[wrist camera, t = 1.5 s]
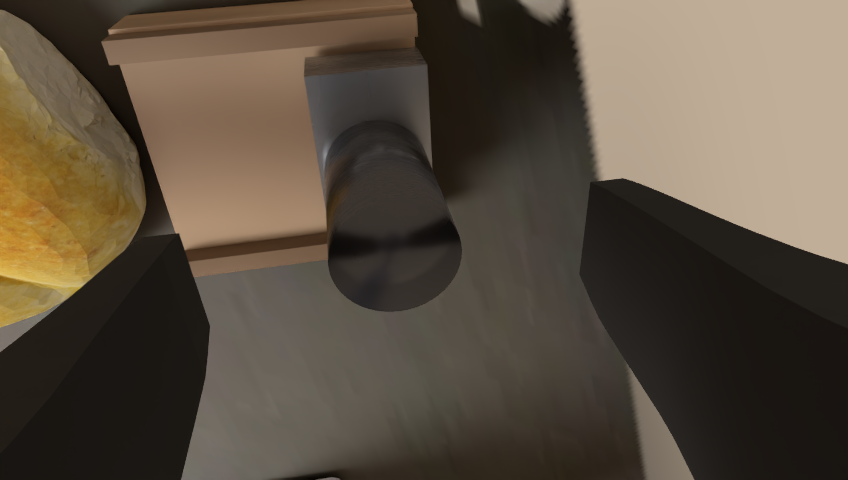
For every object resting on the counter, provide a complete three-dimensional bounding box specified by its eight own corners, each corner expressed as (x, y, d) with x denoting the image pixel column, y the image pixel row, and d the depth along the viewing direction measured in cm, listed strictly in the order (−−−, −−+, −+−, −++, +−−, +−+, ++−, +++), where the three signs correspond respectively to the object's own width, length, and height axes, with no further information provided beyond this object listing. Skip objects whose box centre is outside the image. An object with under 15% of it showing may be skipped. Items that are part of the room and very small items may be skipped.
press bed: (417, 212, 18) (429, 248, 16) (196, 240, 17) (183, 281, 16) (404, -8, 15) (416, 8, 13) (126, 15, 14) (99, 36, 12)
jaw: (426, 216, 16) (468, 343, 12) (332, 227, 16) (339, 362, 12) (416, 46, 14) (465, 129, 9) (304, 57, 13) (302, 148, 9)
